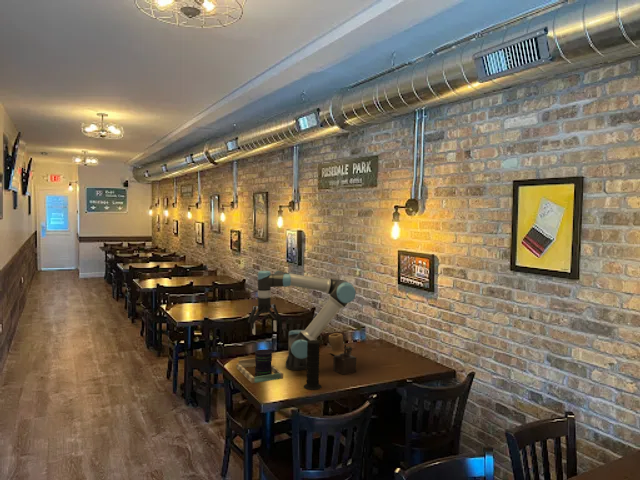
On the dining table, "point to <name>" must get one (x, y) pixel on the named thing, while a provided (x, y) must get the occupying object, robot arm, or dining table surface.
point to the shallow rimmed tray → (252, 363)
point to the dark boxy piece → (345, 362)
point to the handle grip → (312, 365)
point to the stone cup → (336, 343)
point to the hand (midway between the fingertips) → (264, 332)
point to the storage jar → (263, 362)
